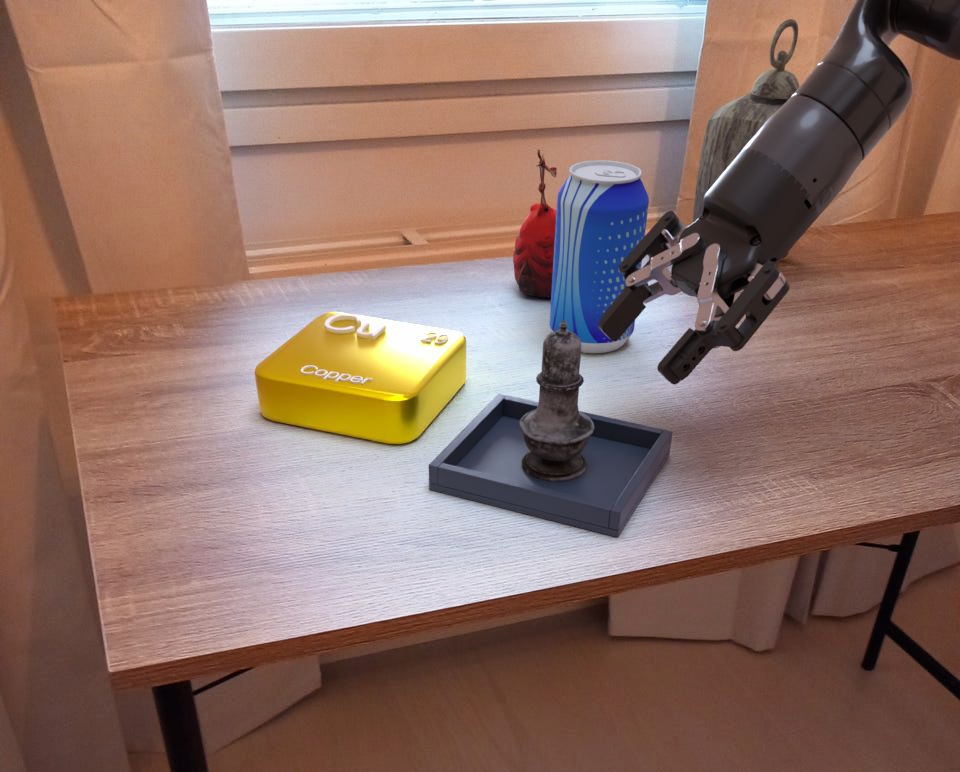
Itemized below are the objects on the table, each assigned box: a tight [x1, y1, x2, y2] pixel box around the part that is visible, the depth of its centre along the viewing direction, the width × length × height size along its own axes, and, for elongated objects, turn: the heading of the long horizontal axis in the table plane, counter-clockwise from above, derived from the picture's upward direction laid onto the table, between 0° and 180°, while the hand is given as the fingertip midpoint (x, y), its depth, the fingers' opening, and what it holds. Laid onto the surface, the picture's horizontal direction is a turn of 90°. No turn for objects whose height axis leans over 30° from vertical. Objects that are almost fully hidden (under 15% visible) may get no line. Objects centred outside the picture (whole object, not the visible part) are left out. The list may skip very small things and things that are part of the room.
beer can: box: [549, 159, 650, 354], centre depth 97 cm, size 8×8×16 cm
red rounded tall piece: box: [512, 149, 558, 299], centre depth 108 cm, size 8×7×15 cm
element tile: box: [254, 311, 467, 445], centre depth 91 cm, size 15×15×5 cm
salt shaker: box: [519, 320, 594, 481], centre depth 78 cm, size 6×6×12 cm
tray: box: [428, 393, 674, 538], centre depth 82 cm, size 16×14×2 cm
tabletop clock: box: [692, 18, 800, 260], centre depth 111 cm, size 14×9×25 cm, turn 147°
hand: (634, 355), depth 79 cm, fingers open, 8 cm apart
